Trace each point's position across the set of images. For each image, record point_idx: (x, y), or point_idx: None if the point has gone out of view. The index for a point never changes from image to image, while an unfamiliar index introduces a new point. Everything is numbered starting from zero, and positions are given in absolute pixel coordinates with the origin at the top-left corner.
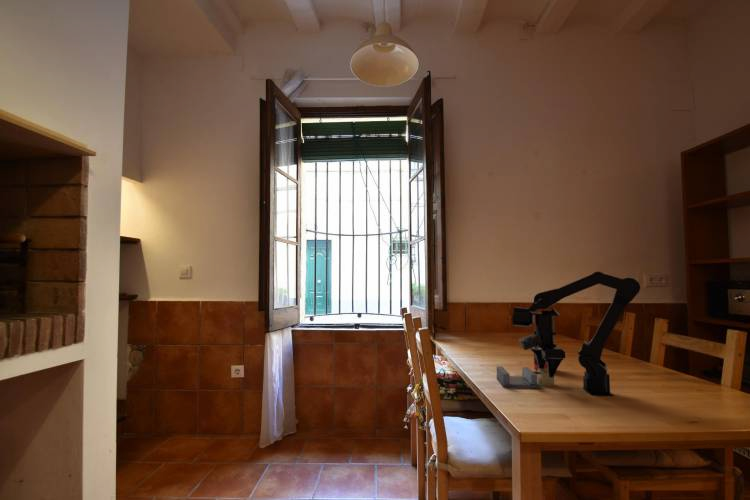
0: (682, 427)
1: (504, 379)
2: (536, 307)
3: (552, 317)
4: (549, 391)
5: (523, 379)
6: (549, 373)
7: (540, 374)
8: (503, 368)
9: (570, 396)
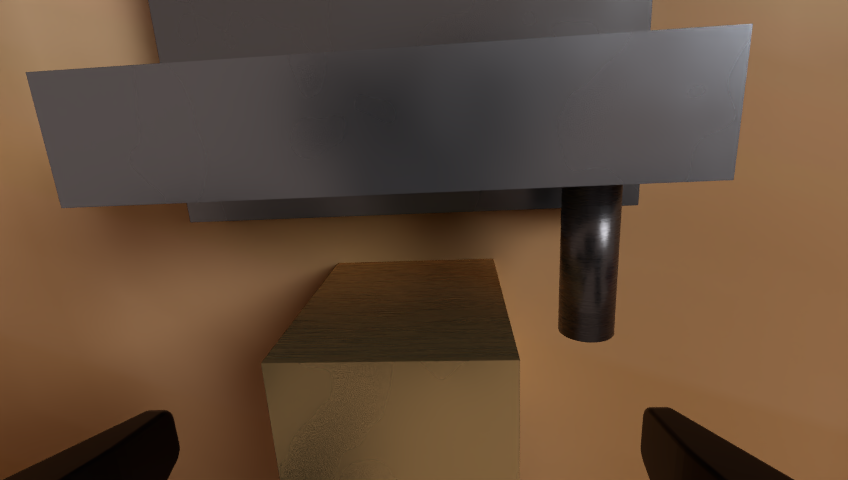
0: None
1: None
2: None
3: None
4: (144, 285)
5: (450, 30)
6: (77, 448)
7: (358, 323)
8: None
9: (42, 433)
